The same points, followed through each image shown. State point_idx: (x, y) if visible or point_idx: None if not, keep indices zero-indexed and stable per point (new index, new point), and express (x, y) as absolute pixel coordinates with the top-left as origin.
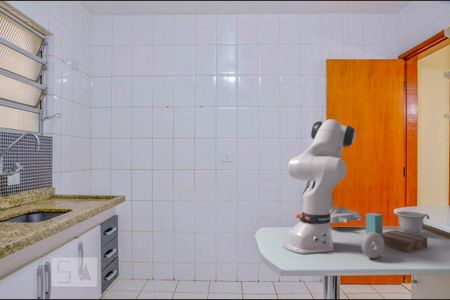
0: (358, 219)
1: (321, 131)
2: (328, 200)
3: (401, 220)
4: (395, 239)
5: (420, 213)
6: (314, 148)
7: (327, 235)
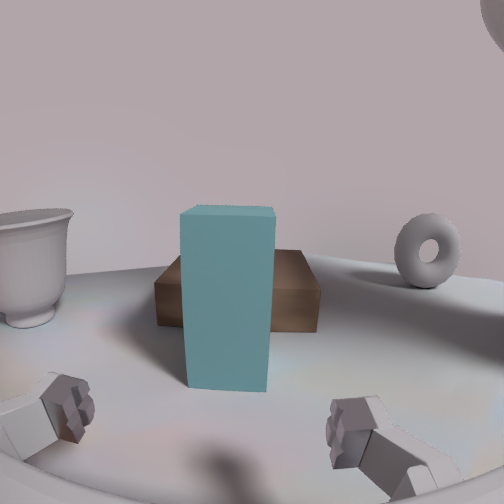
0: (80, 417)
1: None
2: None
3: (46, 254)
4: (302, 260)
5: None
6: None
7: None
